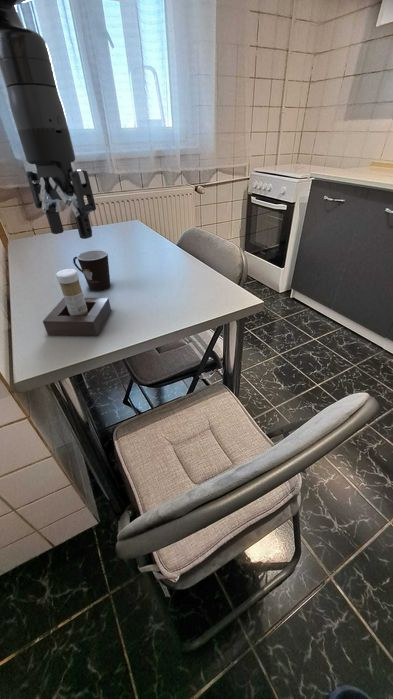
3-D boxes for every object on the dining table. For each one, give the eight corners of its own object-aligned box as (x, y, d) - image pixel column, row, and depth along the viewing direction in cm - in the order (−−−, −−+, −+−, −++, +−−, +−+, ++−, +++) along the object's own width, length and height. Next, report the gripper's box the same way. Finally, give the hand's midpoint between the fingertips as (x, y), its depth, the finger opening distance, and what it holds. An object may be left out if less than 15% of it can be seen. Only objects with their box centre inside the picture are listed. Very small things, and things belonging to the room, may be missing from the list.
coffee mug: (119, 287, 91) (112, 255, 85) (93, 295, 87) (84, 262, 81) (101, 276, 98) (95, 245, 92) (77, 283, 94) (68, 252, 88)
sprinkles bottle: (86, 316, 77) (72, 266, 69) (93, 322, 74) (80, 272, 66) (69, 322, 75) (52, 271, 67) (76, 329, 72) (59, 277, 64)
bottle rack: (97, 336, 70) (93, 321, 67) (48, 335, 70) (42, 321, 68) (111, 310, 79) (108, 297, 77) (68, 310, 80) (63, 297, 77)
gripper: (-5, 130, 47) (32, 236, 56) (47, 122, 40) (79, 244, 49) (39, 131, 52) (66, 228, 61) (91, 124, 45) (113, 234, 54)
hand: (71, 235), depth 55 cm, fingers open, 8 cm apart
